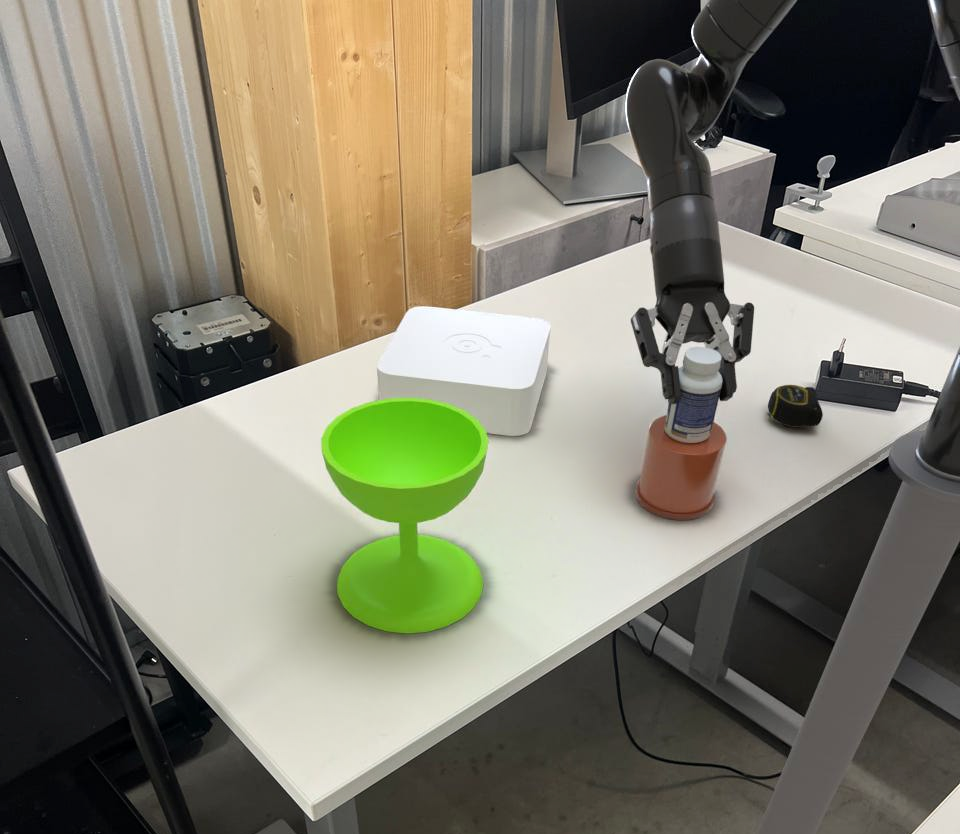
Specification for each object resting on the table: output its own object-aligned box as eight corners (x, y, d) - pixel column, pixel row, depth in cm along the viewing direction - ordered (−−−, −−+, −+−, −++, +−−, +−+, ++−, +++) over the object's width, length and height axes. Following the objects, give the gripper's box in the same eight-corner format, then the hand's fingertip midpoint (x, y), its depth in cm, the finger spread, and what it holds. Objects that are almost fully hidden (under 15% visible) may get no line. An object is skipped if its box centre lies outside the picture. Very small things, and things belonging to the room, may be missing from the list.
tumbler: (729, 505, 113) (746, 441, 106) (669, 529, 109) (683, 464, 102) (678, 466, 118) (691, 404, 112) (619, 488, 114) (629, 424, 108)
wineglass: (413, 520, 109) (409, 381, 96) (513, 583, 101) (523, 441, 88) (306, 582, 100) (286, 438, 88) (406, 656, 92) (400, 510, 80)
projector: (550, 359, 138) (554, 315, 133) (528, 438, 122) (531, 391, 117) (414, 344, 140) (413, 300, 136) (375, 419, 125) (372, 372, 120)
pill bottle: (719, 439, 106) (738, 361, 100) (681, 449, 105) (697, 370, 98) (692, 416, 110) (709, 339, 103) (654, 425, 108) (669, 348, 101)
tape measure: (818, 434, 125) (826, 410, 122) (767, 429, 125) (774, 405, 123) (812, 408, 130) (819, 384, 127) (763, 404, 130) (769, 380, 128)
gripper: (634, 237, 98) (650, 395, 98) (761, 232, 100) (777, 387, 100) (614, 266, 105) (628, 413, 105) (732, 261, 107) (747, 406, 107)
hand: (701, 400), depth 102 cm, fingers closed on pill bottle, 5 cm apart
